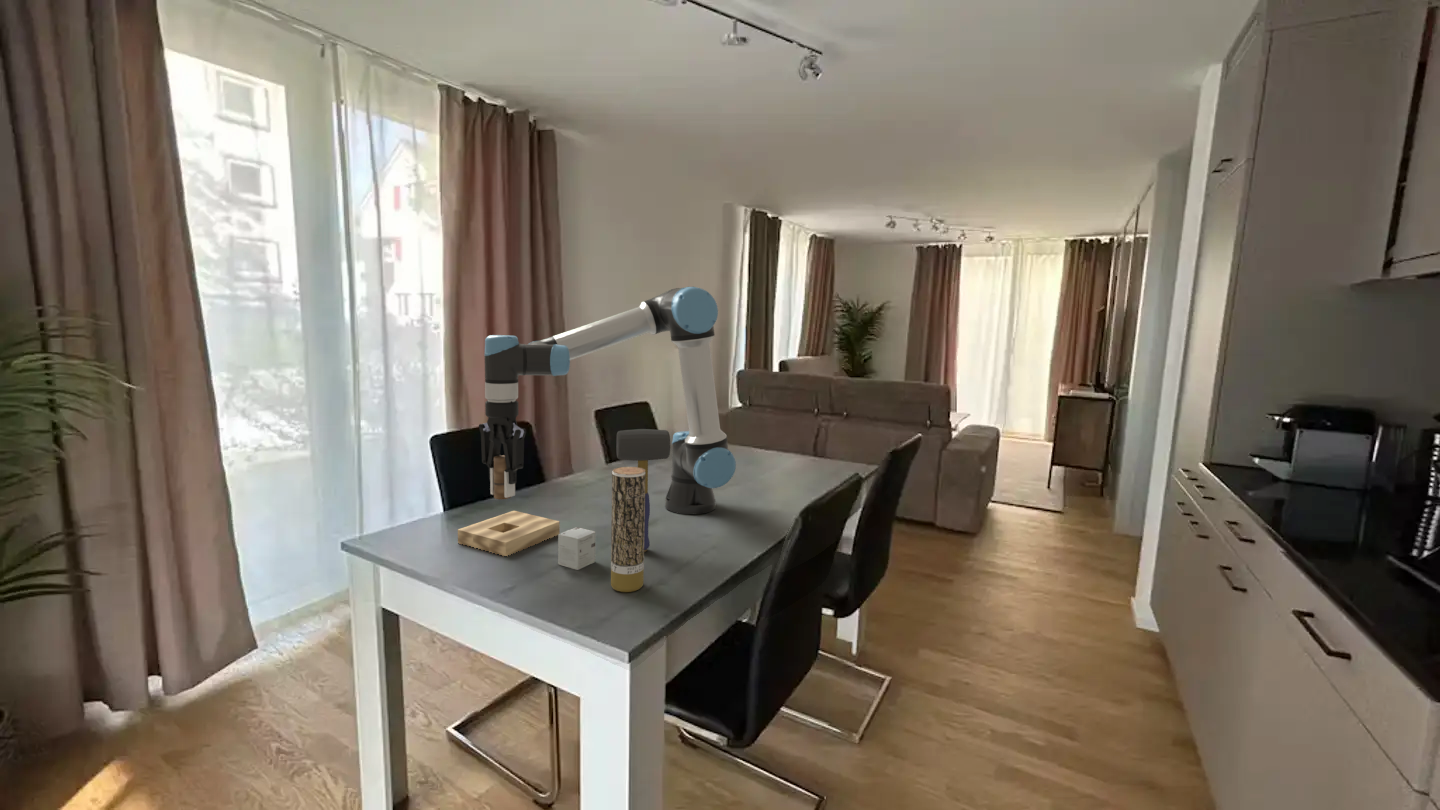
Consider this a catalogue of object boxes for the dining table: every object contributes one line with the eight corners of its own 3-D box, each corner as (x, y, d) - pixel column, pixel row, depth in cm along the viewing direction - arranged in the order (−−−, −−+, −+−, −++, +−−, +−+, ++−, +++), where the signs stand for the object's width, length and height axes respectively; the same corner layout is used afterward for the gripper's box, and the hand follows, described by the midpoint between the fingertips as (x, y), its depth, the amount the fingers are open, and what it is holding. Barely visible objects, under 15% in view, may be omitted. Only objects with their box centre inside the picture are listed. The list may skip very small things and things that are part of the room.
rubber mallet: (616, 558, 146) (618, 432, 142) (613, 546, 153) (615, 426, 149) (669, 555, 149) (672, 431, 145) (664, 544, 156) (666, 426, 152)
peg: (514, 496, 153) (514, 456, 152) (502, 500, 150) (502, 459, 148) (503, 493, 155) (502, 454, 154) (490, 497, 152) (490, 457, 150)
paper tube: (644, 580, 134) (646, 467, 131) (641, 594, 128) (644, 475, 124) (613, 579, 134) (614, 466, 131) (608, 593, 127) (609, 474, 124)
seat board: (559, 534, 160) (559, 521, 160) (505, 557, 144) (505, 542, 144) (513, 523, 167) (513, 510, 167) (457, 543, 152) (457, 529, 151)
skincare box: (577, 570, 138) (578, 539, 137) (557, 564, 141) (557, 533, 140) (595, 562, 143) (596, 531, 142) (575, 556, 146) (575, 526, 145)
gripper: (540, 401, 148) (540, 496, 152) (488, 395, 156) (489, 485, 160) (516, 405, 142) (516, 504, 145) (464, 398, 150) (465, 492, 153)
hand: (502, 494), depth 152 cm, fingers closed on peg, 4 cm apart
